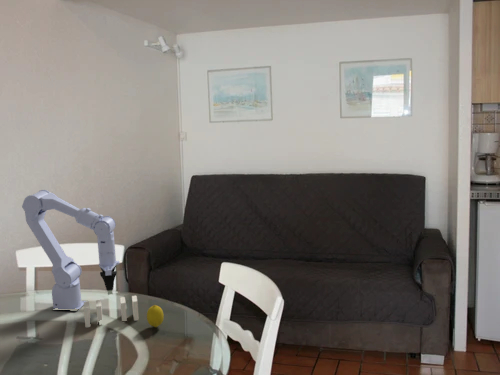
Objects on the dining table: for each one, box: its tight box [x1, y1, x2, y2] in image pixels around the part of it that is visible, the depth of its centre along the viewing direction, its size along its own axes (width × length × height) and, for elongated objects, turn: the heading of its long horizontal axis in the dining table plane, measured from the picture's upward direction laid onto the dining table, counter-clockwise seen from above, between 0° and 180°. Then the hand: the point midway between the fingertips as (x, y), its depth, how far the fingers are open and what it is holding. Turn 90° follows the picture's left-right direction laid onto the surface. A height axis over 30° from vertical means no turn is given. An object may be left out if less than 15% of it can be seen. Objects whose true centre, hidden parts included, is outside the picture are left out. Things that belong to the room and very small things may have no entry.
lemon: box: [146, 304, 165, 328], centre depth 177 cm, size 6×6×8 cm
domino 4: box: [119, 296, 128, 322], centre depth 184 cm, size 2×5×7 cm, turn 16°
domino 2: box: [95, 299, 103, 323], centre depth 181 cm, size 2×5×7 cm, turn 15°
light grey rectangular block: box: [83, 301, 92, 328], centre depth 180 cm, size 2×5×7 cm, turn 16°
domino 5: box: [131, 295, 140, 322], centre depth 185 cm, size 2×5×7 cm, turn 15°
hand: (109, 287), depth 191 cm, fingers closed on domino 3, 5 cm apart
